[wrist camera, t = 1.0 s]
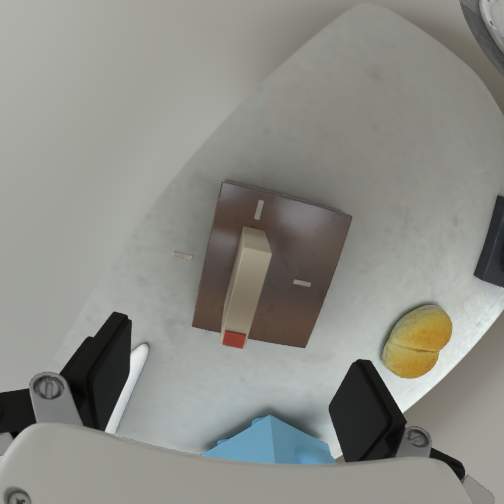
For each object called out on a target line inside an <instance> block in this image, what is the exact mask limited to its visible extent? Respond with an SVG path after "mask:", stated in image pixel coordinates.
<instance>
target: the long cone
mask: <svg viewBox="0 0 504 504" xmlns="http://www.w3.org/2000/svg"><path fill="white" fill-rule="evenodd" d="M148 352H149V348H148V346H147V345H146V344H142V345H140V346H139V347H137V348H136V349H135V350H134V351H133V352H132V353H131V354H130V374H129V377H128V380H127V382H126V384H125V386H124V388H123V391H122V393H121V395H120V397H119V400H118V402H117V404H116V406H115V409H114V411H113V413H112V415H111V418H110V420H109V422H108V425H107V427H106V430H105V432H107V433H111V434H115V432H116V429H117V427H118V424H119V422H120V419H121V417H122V415H123V412H124V410H125V407H126V405H127V403H128V400H129V398H130V396H131V393H132V391H133V389H134V387H135V384H136V382H137V380H138V377H139V375H140V373H141V370H142V368H143V366H144V363H145V361H146V358H147V355H148Z"/></svg>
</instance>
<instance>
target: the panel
mask: <svg viewBox="0 0 504 504" xmlns="http://www.w3.org/2000/svg"><path fill="white" fill-rule="evenodd" d="M351 220H352V216H351V215H349V214H347V213H345V212H343V211H341V210H338V209H335V208H331V207H328V206H324V205H321V204H318V203H314V202H311V201H307V200H303V199H300V198H296V197H293V196H289V195H285V194H281V193H278V192H274V191H270V190H266V189H262V188H258V187H254V186H250V185H246V184H242V183H238V182H233V181H229V180H224V181H223V182H222V186H221V190H220V194H219V198H218V203H217V207H216V211H215V216H214V220H213V224H212V229H211V233H210V238H209V243H208V247H207V252H206V257H205V261H204V266H203V271H202V276H201V281H200V286H199V291H198V296H197V301H196V306H195V312H194V317H193V323H192V327H196V328H200V329H205V330H209V331H214V332H218V333H221V326H222V318H223V310H224V303H225V299H226V295H227V291H228V287H229V283H230V278H231V274H232V270H233V266H234V262H235V258H236V254H237V250H238V246H239V242H240V238H241V234H242V230H243V227H244V226H245V227H250V228H254V229H258V230H262V231H265V234H266V237H267V240H268V243H269V246H270V249H271V252H272V256H271V260H270V263H269V267H268V270H267V274H266V277H265V280H264V284H263V287H262V291H261V294H260V298H259V301H258V305H257V308H256V311H255V315H254V318H253V321H252V325H251V328H250V332H249V335H248V339H253V340H259V341H264V342H270V343H276V344H282V345H288V346H294V347H301V348H305V347H306V345H307V343H308V340H309V338H310V335H311V333H312V330H313V328H314V325H315V323H316V320H317V318H318V315H319V313H320V310H321V307H322V305H323V302H324V299H325V297H326V294H327V291H328V289H329V286H330V283H331V280H332V277H333V275H334V272H335V269H336V266H337V263H338V260H339V257H340V254H341V251H342V248H343V245H344V242H345V239H346V236H347V233H348V229H349V226H350V223H351ZM174 256H175V257H179V258H183V259H188V260H192V257H193V255H189V254H184V253H180V252H176V251H175V252H174Z"/></svg>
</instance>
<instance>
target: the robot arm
mask: <svg viewBox="0 0 504 504" xmlns="http://www.w3.org/2000/svg"><path fill="white" fill-rule="evenodd" d="M479 8H480V12H481V16H482V18H483V21H484V23H485V25H486V27H487V30H488V31H489V33H490V35H491V37H492V38H493V40H494V42H495V43H496V45H497V46H498V47H499V49H500V50H501V52H502V53H503V54H504V0H479ZM131 328H132V321H131V320H129V319H128V316H127V315H125V314H122V313H118V312H113V313H112V314H111V316H110V317H109V318H108V319H107V321H106V322H105V323H104V325H103V326H102V327H101V328H100V330H99V331H98V332H97V334H96V335H95V336H94V338H93V337H90V336H89V337H87V338H86V339H85V340H84V342H83V343H82V344H81V346H80V347H79V348H78V349H77V351H76V352H75V353H74V355H73V356H72V357H71V359H70V360H69V361H68V363H67V364H66V365H65V367H64V368H63V369H62V371H61V372H60V374H57V373H53V372H42V373H39V374H37V375H35V376H34V377H33V378H32V379H31V381H30V384H29V388H28V389H22V390H16V391H9V392H2V393H0V456H2V458H1V459H0V504H494V502H495V501H494V496H493V494H492V493H491V492H490V491H489V490H487V489H486V488H485V487H484V486H482V485H481V484H480V483H478V482H477V481H476V480H474V479H473V478H472V477H471V476H469V475H467V476H465V469H464V467H463V465H462V463H461V462H460V461H458V460H456V459H454V458H452V457H450V456H448V455H446V454H443V453H441V452H440V451H438V450H436V449H434V448H432V447H431V446H432V440H431V436H430V435H429V434H428V433H427V432H426V431H425V430H424V429H422V428H420V427H417V426H411V427H408V428H405V424H406V423H407V421H406V419H405V418H404V416H403V414H402V412H401V411H400V409H399V407H398V405H397V404H396V402H395V400H394V399H393V397H392V395H391V393H390V392H389V390H388V388H387V387H386V385H385V383H384V382H383V380H382V378H381V377H380V375H379V373H378V372H377V370H376V368H375V367H374V365H373V364H372V362H371V361H370V360H362V359H358V360H356V362H353V363H352V365H351V366H350V368H349V370H348V372H347V374H346V376H345V378H344V380H343V381H342V383H341V385H340V387H339V389H338V390H337V392H336V394H335V396H334V397H333V399H332V401H331V403H330V405H329V413H330V416H331V419H332V422H333V425H334V428H335V432H336V435H337V438H338V441H339V444H340V447H341V450H342V453H343V456H344V459H345V462H346V463H329V464H280V463H262V462H249V461H239V460H231V459H223V458H216V457H209V456H203V455H197V454H191V453H186V452H181V451H176V450H172V449H167V448H163V447H159V446H155V445H151V444H147V443H143V442H139V441H135V440H132V439H128V438H125V437H121V436H118V435H114V434H111V433H107V432H105V430H106V427H107V425H108V422H109V420H110V418H111V415H112V413H113V411H114V409H115V406H116V404H117V402H118V400H119V397H120V395H121V393H122V391H123V388H124V386H125V384H126V382H127V380H128V377H129V374H130V352H131Z"/></svg>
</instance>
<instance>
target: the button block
mask: <svg viewBox="0 0 504 504" xmlns="http://www.w3.org/2000/svg"><path fill="white" fill-rule="evenodd" d="M474 276H476V277H478V278H479V279H481V280H483V281H486V282H489V283H492V284H495V285H497V286H500V287H503V288H504V197H503V196H499V195H498V197H497V201H496V205H495V209H494V213H493V217H492V221H491V225H490V228H489V232H488V235H487V238H486V242H485V245H484V248H483V251H482V254H481V257H480V260H479V262H478V265H477V268H476V271H475V273H474Z"/></svg>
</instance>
